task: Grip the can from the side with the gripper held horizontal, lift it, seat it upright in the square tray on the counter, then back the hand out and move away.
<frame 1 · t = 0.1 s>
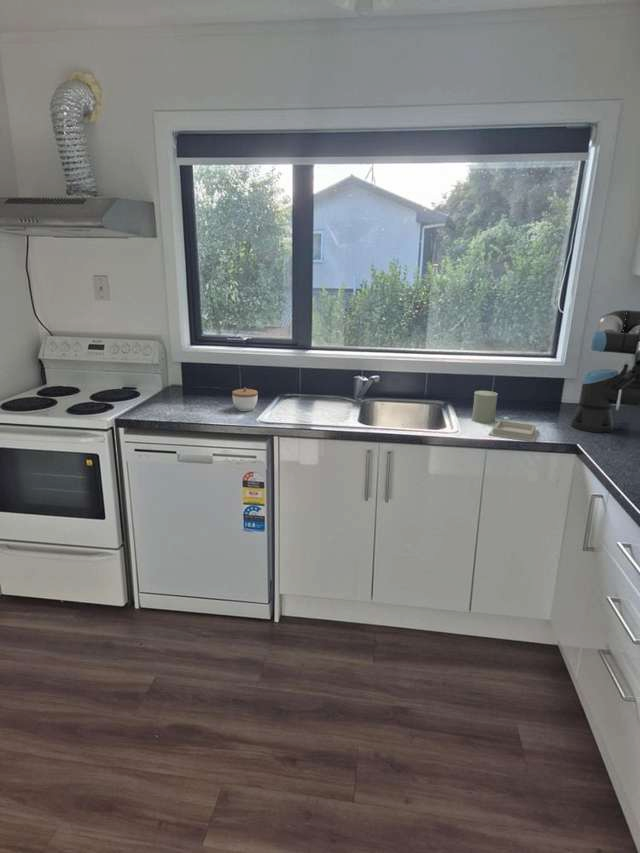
square tray: (514, 433, 206), on the worktop
can: (482, 420, 222), on the worktop
lidded jar: (245, 409, 230), on the worktop
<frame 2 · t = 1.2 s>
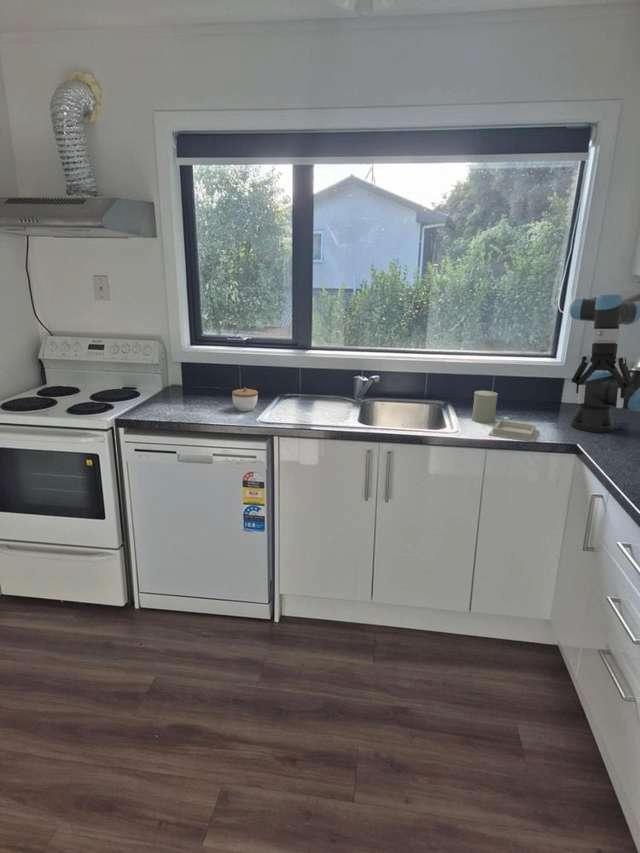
hand: (599, 405, 183), 16 cm above the worktop, tool pointing down, fingers open, 13 cm apart
nothing on the worktop moved.
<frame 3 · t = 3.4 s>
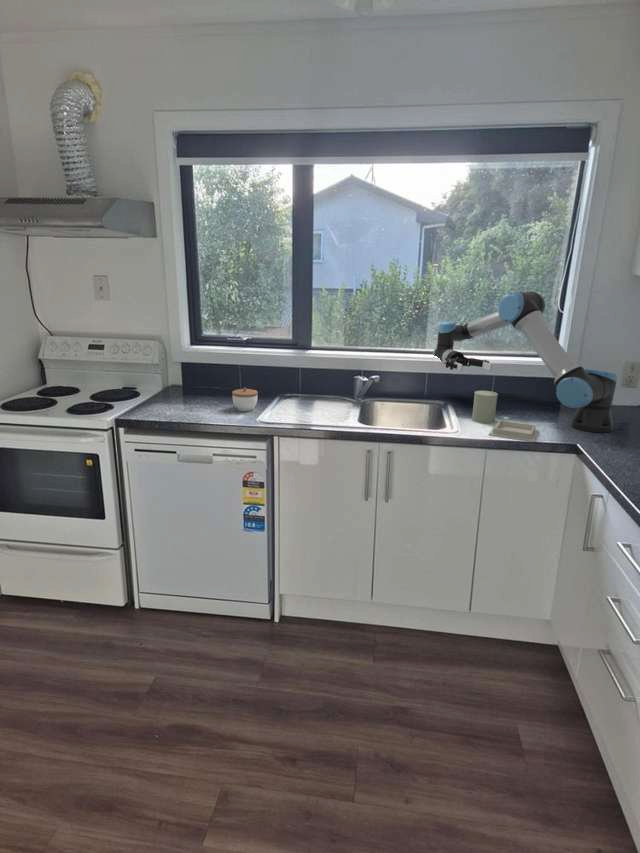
hand: (476, 367, 225), 20 cm above the worktop, tool horizontal, fingers open, 13 cm apart
nothing on the worktop moved.
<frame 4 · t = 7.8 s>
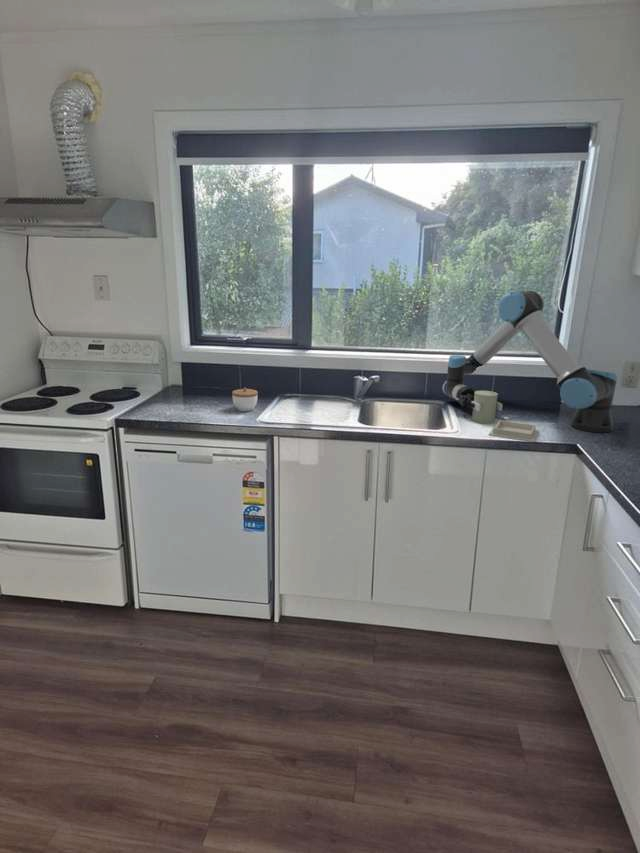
hand: (490, 407, 216), 7 cm above the worktop, tool horizontal, fingers closed on can, 9 cm apart
can: (482, 420, 222), on the worktop, touching gripper
everything else where it was.
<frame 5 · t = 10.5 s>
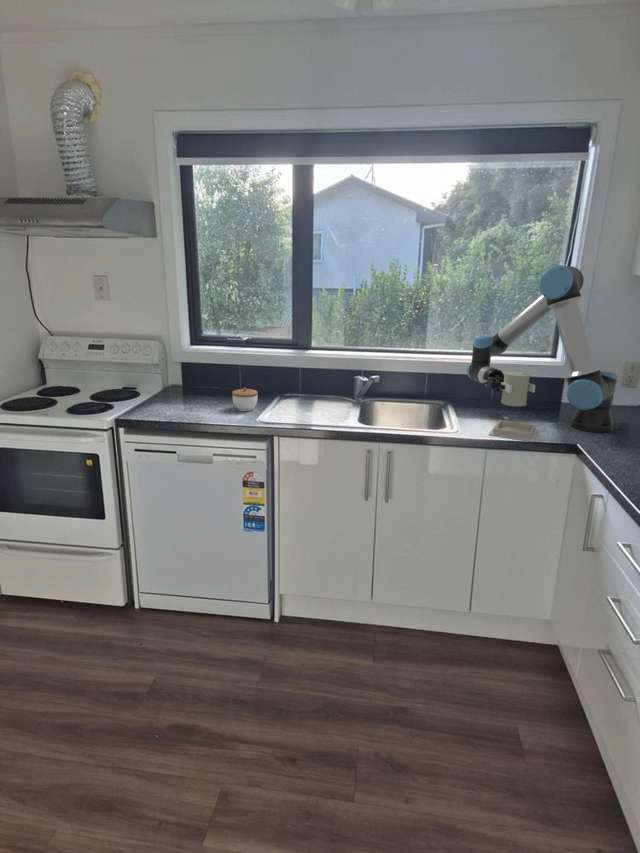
hand: (522, 389, 198), 18 cm above the worktop, tool horizontal, fingers closed on can, 9 cm apart
can: (513, 403, 205), point 11 cm above the worktop, touching gripper
everything else where it was.
when the fingers open (8 cm above the worktop, at t = 13.0 s): can drops 1 cm, resting on square tray.
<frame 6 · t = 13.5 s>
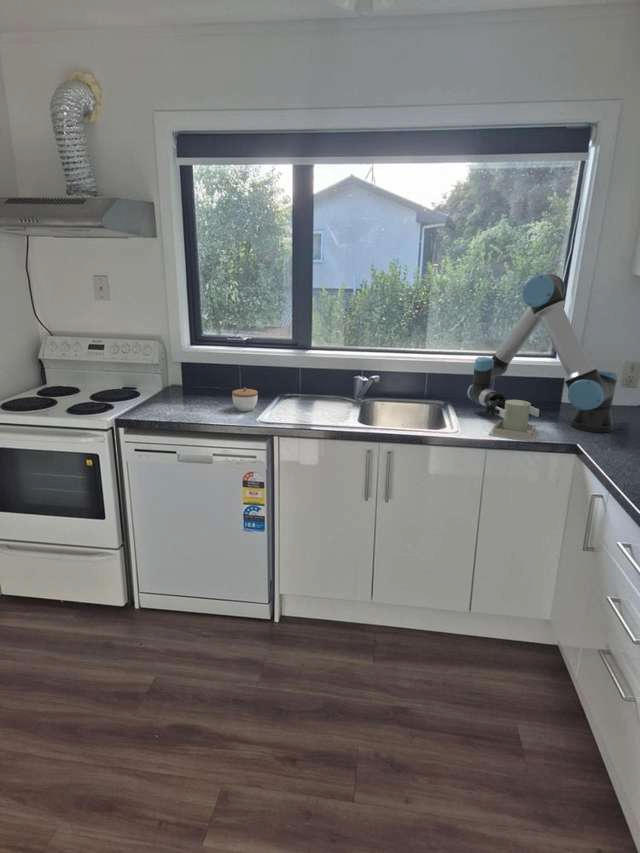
hand: (521, 413, 200), 8 cm above the worktop, tool horizontal, fingers open, 13 cm apart
can: (514, 432, 206), resting on square tray
everything else where it was.
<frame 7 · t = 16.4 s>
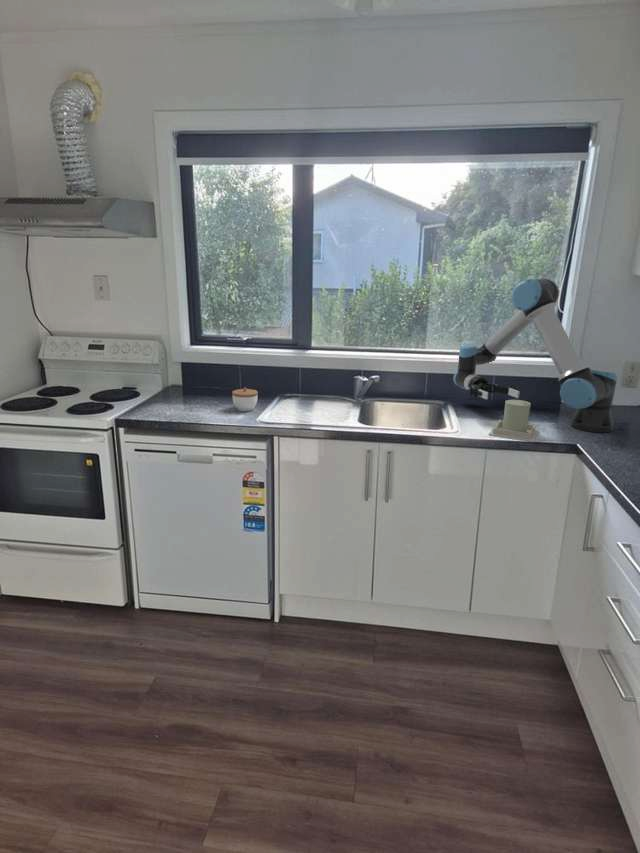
hand: (502, 395, 212), 12 cm above the worktop, tool horizontal, fingers open, 13 cm apart
nothing on the worktop moved.
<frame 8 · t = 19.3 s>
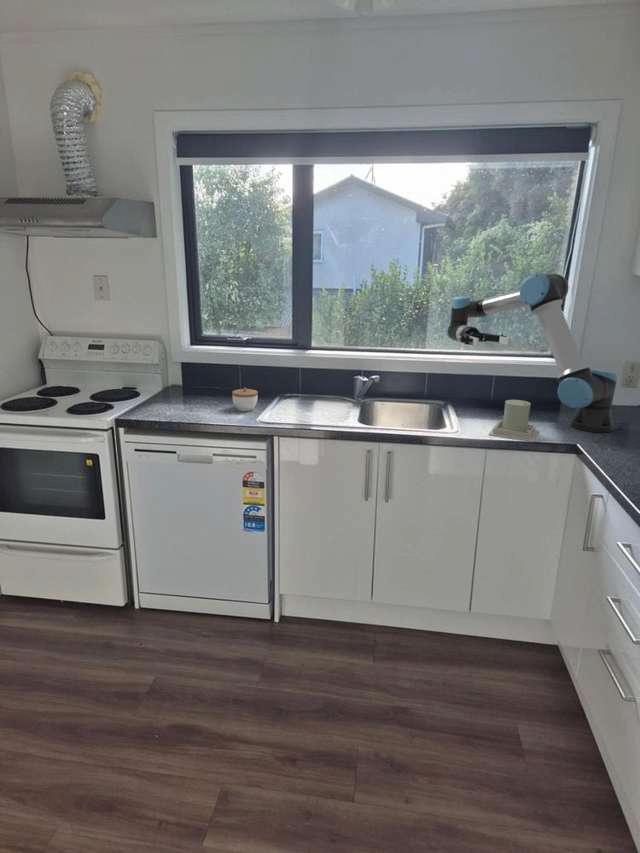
hand: (493, 341, 215), 32 cm above the worktop, tool horizontal, fingers open, 13 cm apart
nothing on the worktop moved.
at the end: can 0.1 cm off-centre on the square tray, point 0.3 cm above the square tray's base; can tilted 0°; the gripper is holding nothing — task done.
